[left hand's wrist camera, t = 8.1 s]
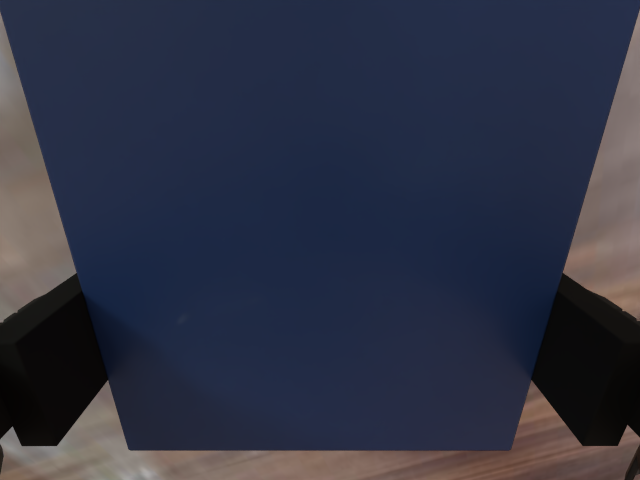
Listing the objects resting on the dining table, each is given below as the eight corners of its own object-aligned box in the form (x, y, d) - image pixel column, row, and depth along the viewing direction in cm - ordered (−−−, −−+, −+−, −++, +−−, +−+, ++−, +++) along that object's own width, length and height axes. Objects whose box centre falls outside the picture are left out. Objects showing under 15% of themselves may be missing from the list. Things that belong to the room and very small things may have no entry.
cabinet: (189, -34, 15) (-112, -356, 4) (450, -34, 15) (749, -356, 4) (224, 277, 20) (127, 452, 10) (414, 277, 20) (512, 451, 10)
